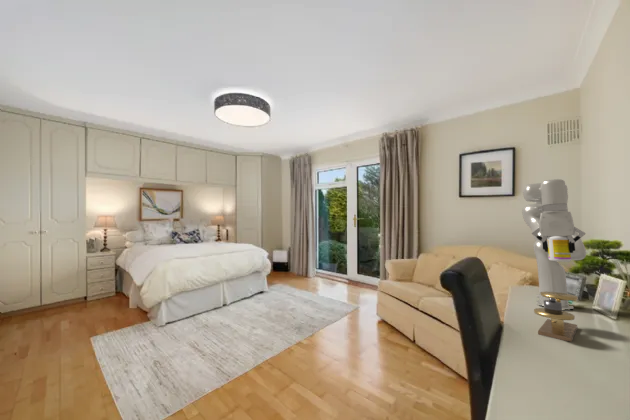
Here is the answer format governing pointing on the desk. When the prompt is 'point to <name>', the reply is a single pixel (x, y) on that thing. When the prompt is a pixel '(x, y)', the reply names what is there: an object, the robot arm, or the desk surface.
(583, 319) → the desk surface
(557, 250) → the supplement bottle
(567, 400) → the desk surface
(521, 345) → the desk surface
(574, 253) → the robot arm
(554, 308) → the balance
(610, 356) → the desk surface
